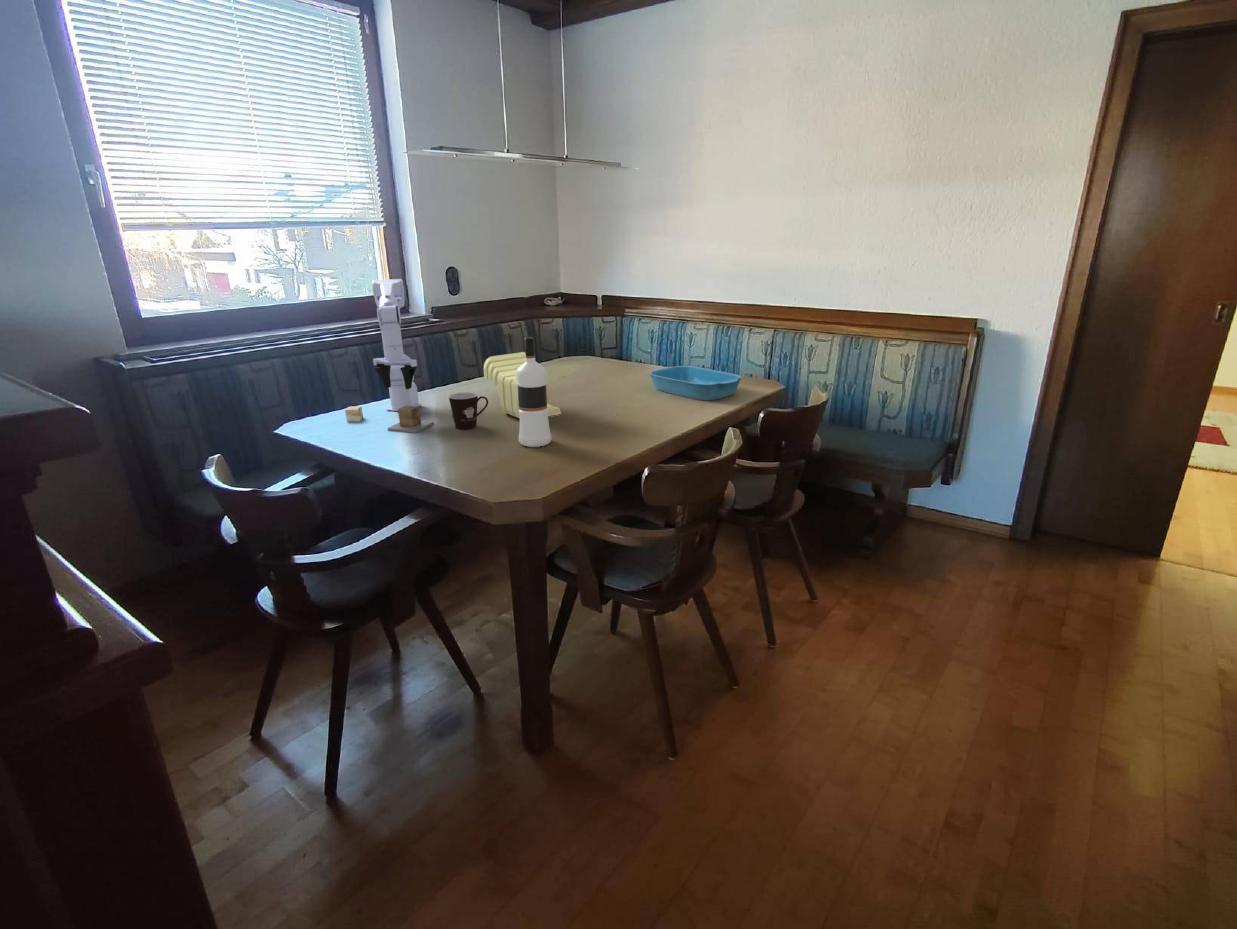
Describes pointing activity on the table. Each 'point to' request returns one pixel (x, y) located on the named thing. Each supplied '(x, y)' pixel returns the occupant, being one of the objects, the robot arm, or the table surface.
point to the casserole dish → (695, 382)
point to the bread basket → (506, 381)
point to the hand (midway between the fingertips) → (398, 388)
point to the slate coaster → (411, 429)
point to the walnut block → (409, 416)
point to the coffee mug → (465, 409)
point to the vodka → (532, 400)
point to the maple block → (354, 413)
